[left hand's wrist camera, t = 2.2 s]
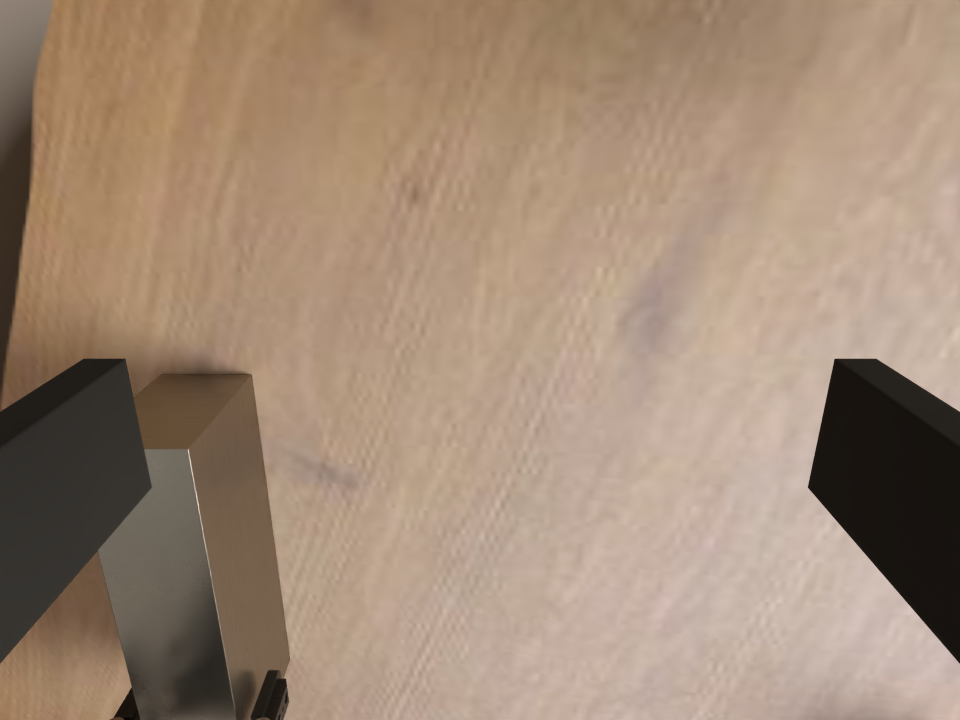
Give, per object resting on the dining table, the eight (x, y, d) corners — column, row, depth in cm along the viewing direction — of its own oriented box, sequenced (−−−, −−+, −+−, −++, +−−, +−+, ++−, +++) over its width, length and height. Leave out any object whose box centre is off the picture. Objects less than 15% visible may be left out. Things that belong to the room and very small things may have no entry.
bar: (160, 374, 41) (71, 449, 32) (251, 374, 41) (187, 449, 32) (214, 659, 49) (155, 781, 40) (290, 659, 49) (248, 781, 40)
